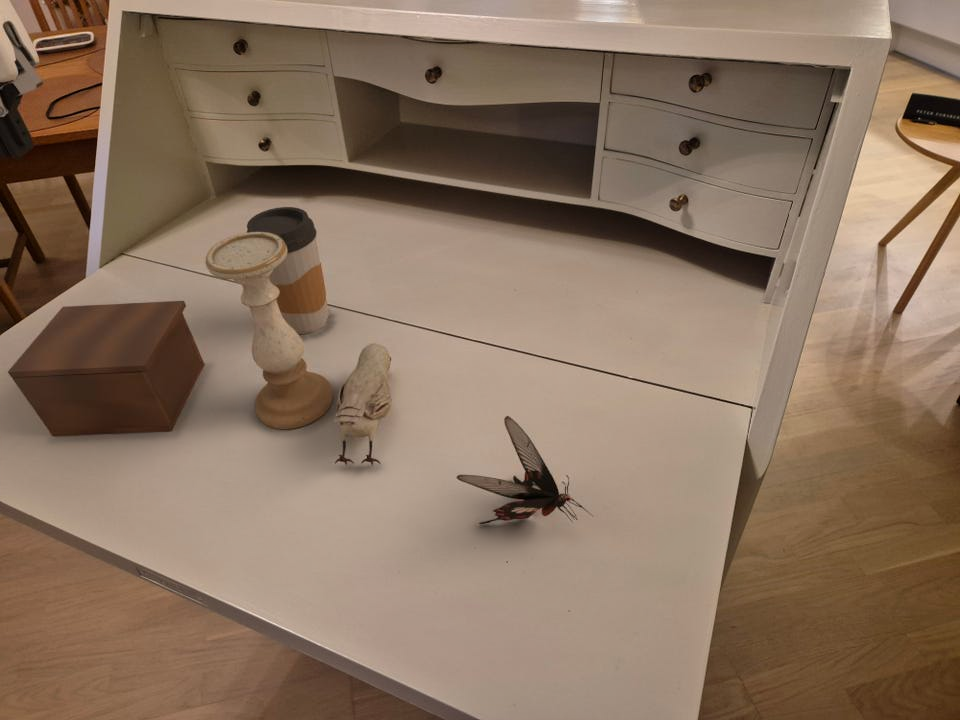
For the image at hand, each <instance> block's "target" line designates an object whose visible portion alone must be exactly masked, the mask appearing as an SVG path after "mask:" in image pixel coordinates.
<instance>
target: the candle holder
mask: <svg viewBox="0 0 960 720" xmlns="http://www.w3.org/2000/svg"><path fill="white" fill-rule="evenodd" d="M287 251H288V250H287V245H286V244H285V242H284V240H283V239H282V238H281V237H279V236H278V235H275V234H273V233H268V232H248V233H247V232H243V233H238V234H235V235H231V236H230V237H227V238H224V239H223V240H220V241H218V242H217V243H216V244H214V245H213V246H212V247H211V248H210V249H209V250H208V252H207V253H206V256H205V267H206V269H207V270H208V272H209V273H210V274H211V275H212V276H215V277H216V278H219V279H221V280H232V281H233V282H235V283H239V284H240V285H241V286H242V292H241V295H240V302H241V304H242V305H244V306H246V307H248V308H249V311H250V314H251V318H252V320H253V326H254V328H253V330H254V331H253V336H252V342H251V356H252V359H253V361H254V363H255V364H256V365H257V366H258V367H259V368H260V369H262V377H263V379H264V381H265V382H266V384H265V385H264V386H263V387H262V389H260V390H259V392H258V394H257V395H256V398H255V399H254V400H255V401H254V409H255V412H256V415H257V417H258V418H259V420H260V421H261V422H262V423H263V424H265V425H267V426H268V427H271V428H275V429H278V430H279V429H280V430H290V429H297V428H301V427H304V426H307V425H309V424H312V423H313V422H315V421H317V420H318V419H320V418H321V417H322V416H323V415H324V414H325V413H326V412H328V409H329V408H330V406H331V404H332V402H333V398H334V393H333V392H334V391H333V387H332V385H331V382H330V381H329V380H328V379H327V378H326V377H325V376H323V375H321V374H320V373H317V372H312V371H308V370H307V367H308V365H307V362H306V361H305V359H304V358H303V356H304V353H305V345H304V341H303V339H302V338H301V336H300V334H298V333H297V332H296V331H295V330H294V329H293V328H292V327H291V326H290V325H289V324H288V323H287V322H286V321H285V320H284V318H283V316H282V314H281V312H280V309H279V306H278V304H277V300H276V299H277V298H278V296H279V293H280V291H279V289H278V287H276V286H275V285H274V284H272V283H271V282H270V274H271V273H272V271H273V269H274V268H276V267H277V266H279V265H280V264H281V263H282V262H283V261H284V260H285V258H286V256H287Z"/></svg>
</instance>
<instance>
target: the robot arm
mask: <svg viewBox="0 0 960 720" xmlns="http://www.w3.org/2000/svg"><path fill="white" fill-rule="evenodd" d="M39 64H40V58H39V55H38V52H37V50H36V48H35V46H34V43H33V41H32V39H31V38H30V35H29V34H28V31H27V29H26V28H25V26H24V23H23V22H22V20H21V18H20V16H19V15H18V12H17V11H16V9H15V8H14V6H13V4H12V2H11V0H0V156H1V158H2V159H10V158H14V159H15V158H16V159H17V158H22V156H24V155H26V154H27V153H29V151H31V150H32V149H33V148H34V147H35V143H34V141H33V137H32V134H31V132H30V131H29V129H28V127H27V125H26V123H25V121H24V119H23V117H22V115H21V113H20V111H19V109H18V108H20V107H21V106H22V102H21V101H22V99H23V96H24V95H26V94H29V93H31V92H34V91H36V90H37V89H39V88H40V87H42V86H43V84H44V81H43V79H42V78H41V77H40V76H39V73H38V72H37V71H36V70H35V68H36V67H38V66H39Z"/></svg>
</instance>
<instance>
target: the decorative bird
mask: <svg viewBox="0 0 960 720" xmlns="http://www.w3.org/2000/svg"><path fill="white" fill-rule="evenodd" d="M357 359H358V360H357V365H356V367H355V368H354V370H353V371H351V373H350V375H349V376H348V377H347V378H346V379H345V381H344V383H343V384H342V385H341V386H340V388H339V391H338V395H337V402H336V406H335V411H336V412H335V413H336V414H335V418H334V420H333V423H334V424H335V423H338V425H339V426H338V427H339V428H340V431H341V441H342V454H338V457H339V458H337V459H336V460H335V461H334V464H337V463H338V462H341V463H344V464H345V466H347V464H348V462H351V463H352V464H353V465H355V462H354V461H353V460H352V459H350V458H347V457H346V450H347V449H346V448H347V439H348V437H349V436H351V437H354V438H360V439H361V438H367V437H368V441H369V442H368V444H369V448H368V449H369V451H368V454H366V455H365V456H366V458H364V459H363V460H362V461H361V462H360V464H361V465H362V464H363V463H365V462H367V463H370V464H371V465H372V466H373V465H374V462H377V463H378V464H379V465H381V462H380V460H378V459H377V458H374V457H372V454H373V441H374V439H375V434H376V431H377V427H378V425H379V424H380V422H381V421H382V418H385V417H386V416H387V415H388V414H389V412H390V410H391V407H392V395H391V390H390V386H389V382H388V373H389V371H390V368H391V362H392V357H391V356H390V353H389V351H388V349H387V348H386V347H385V346H383V345H381V344H379V343H373V342H372V343H369V344H368V345H366V346H365V347H363V348H362V350H361V351H360V354H359V356H358V358H357Z"/></svg>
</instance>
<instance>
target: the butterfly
mask: <svg viewBox="0 0 960 720" xmlns="http://www.w3.org/2000/svg"><path fill="white" fill-rule="evenodd" d="M503 422H504V426H505V429H506V431H507V433H508V436H509V438H510V441H511V444H512V445H513V448H514V450H515V453H516V455H517V457H518V460H519V462H520V463H521V466H522V468H523V470H524V471H525V472H524V479H523V480H522V481H521V480H520V479H519V478H518V477H517V476H516V475H513V477H512V481H508V480H506V479H501V478H497V477H490V476H483V475H477V474H476V475H475V474H457V476H456V479H457V480H458V481H460V482H462V483H466V484H467V485H471V486H473V487H476V488H478V489H481V490H484V491H487V492H490V493H492V494H495V495H499V496H501V497H504V498H509V499H513V500H516V501H511V502H506V503H505V504H504V505H502V506H500V507H498V508H495V509H493V510H492V512H493V513H494V516H495V517H496V518H493V519H489V520H485V521H480V522H478V525H486V524H490V523H492V522H495V521H504V522H507V521H508V522H509V521H513V520H526V519H529V518H530V517H531V516H533V515H534V514H535V513H537V512H538V511H539V510H540V511H541V515H542V516H543V517H547V516H550V515H551V514H552V513H553V512H554V510H556V508H557V509H558V510H559V511H561V512H562V513H563V514H565V516H566V517H567V518H568V519H569V520H570V521H571V522H573V520H577V521H578V520H579V519H578V518H577V517H578V516H577V514H576V513H575V512H574V509H572V507H571V506H570V505H569V504H572V505H574V506H575V507H579V508H582V509H583V510H584V511H585V512H586V513H588V514H589V515H591V516H592V517H595V516H594V515H593V514H591V513H590V511H588V510H587V509H586V508H585V507H583V505H581V504H580V503H578V502H577V501H576V500H574V498H573V496H572V495H571V494H569V485H570V477H569V475H567V474H566V477H567V480H568V482H567V485H566V483H565V482H564V481H561V483H562V484H564V493H563V492H561V493H560V492H559V487H558V485H557V483H556V480H555V478H554V477H553V475H552V473H551V472H550V470H549V467H548V466H547V464H546V463H545V461H544V459H543V458H542V456H541V454H540V453H539V451H538V449H537V448H536V445H535V444H534V442H533V441H532V440H531V438H530V437H529V436H528V434H527V433H526V431H525V430H524V429H523V428H522V426H521V425H520V424H519V423H518V422H517V421H516V420H514V419H513V418H512V417H510V416H509V415H506V416H505V417H504V419H503ZM565 504H566V505H567V506H568V507H569V509H570V510H571V511H572V513H573V514H572V513H571V512H570V510H568V509H567V507H566V506H565ZM562 508H564V509H565V510H566V512H567V513H568V514H569V515H570V516H571V517H572V519H573V520H572V519H571V518H570V517H569V515H568V514H567V513H566V512H565V510H563V509H562Z"/></svg>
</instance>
